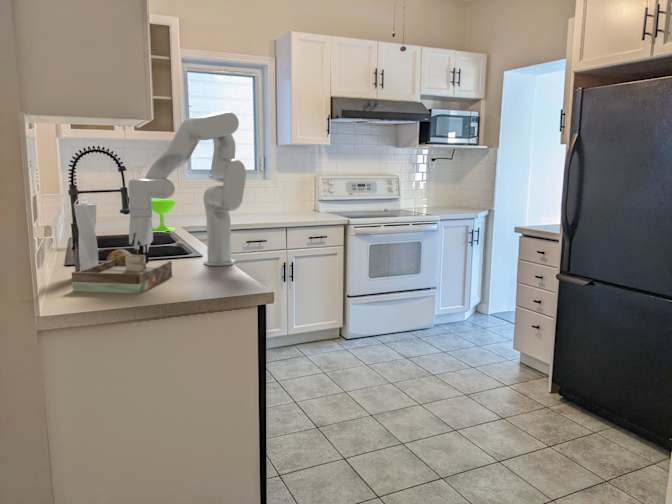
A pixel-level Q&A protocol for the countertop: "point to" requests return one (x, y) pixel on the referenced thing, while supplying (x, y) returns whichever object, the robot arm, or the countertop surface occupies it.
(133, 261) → the birch block
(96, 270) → the trap box
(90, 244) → the skyscraper
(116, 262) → the bread roll
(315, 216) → the countertop surface
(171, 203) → the wineglass
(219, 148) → the robot arm
